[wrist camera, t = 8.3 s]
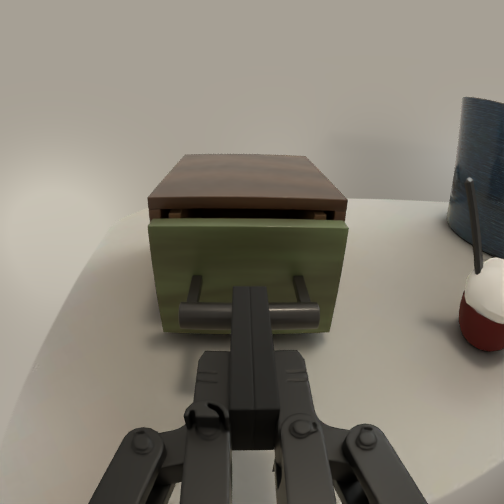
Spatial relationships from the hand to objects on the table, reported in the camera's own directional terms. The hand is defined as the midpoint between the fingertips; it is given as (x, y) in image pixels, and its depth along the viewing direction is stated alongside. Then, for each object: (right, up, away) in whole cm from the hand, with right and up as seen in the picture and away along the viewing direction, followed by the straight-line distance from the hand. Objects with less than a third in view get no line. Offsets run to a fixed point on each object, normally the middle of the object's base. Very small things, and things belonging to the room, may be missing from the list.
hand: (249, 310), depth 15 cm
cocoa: (+19, -4, +7) cm, 21 cm away
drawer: (0, -1, +11) cm, 11 cm away
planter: (+40, +5, +26) cm, 48 cm away
